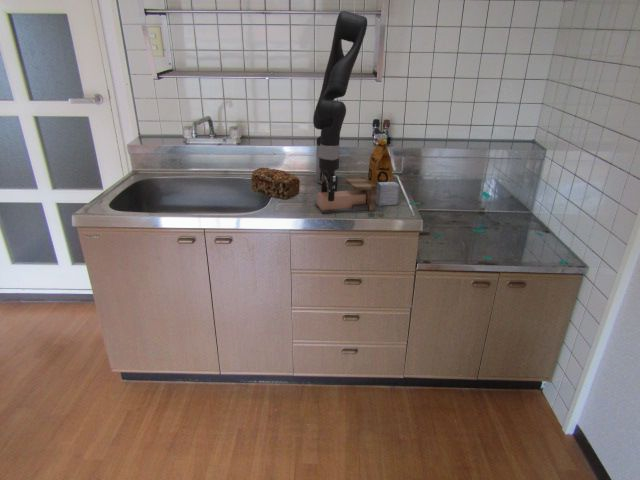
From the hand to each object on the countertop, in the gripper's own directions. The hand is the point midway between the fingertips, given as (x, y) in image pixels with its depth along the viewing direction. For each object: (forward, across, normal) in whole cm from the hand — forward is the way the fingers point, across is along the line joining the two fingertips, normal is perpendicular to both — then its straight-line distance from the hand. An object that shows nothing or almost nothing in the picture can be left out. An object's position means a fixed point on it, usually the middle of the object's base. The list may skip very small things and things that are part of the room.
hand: (327, 197), depth 171 cm
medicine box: (+5, 0, +25) cm, 26 cm away
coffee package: (+5, -16, +29) cm, 34 cm away
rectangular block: (+4, 0, +6) cm, 7 cm away
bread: (+5, -23, -16) cm, 28 cm away
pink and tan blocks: (+5, 0, +7) cm, 8 cm away
